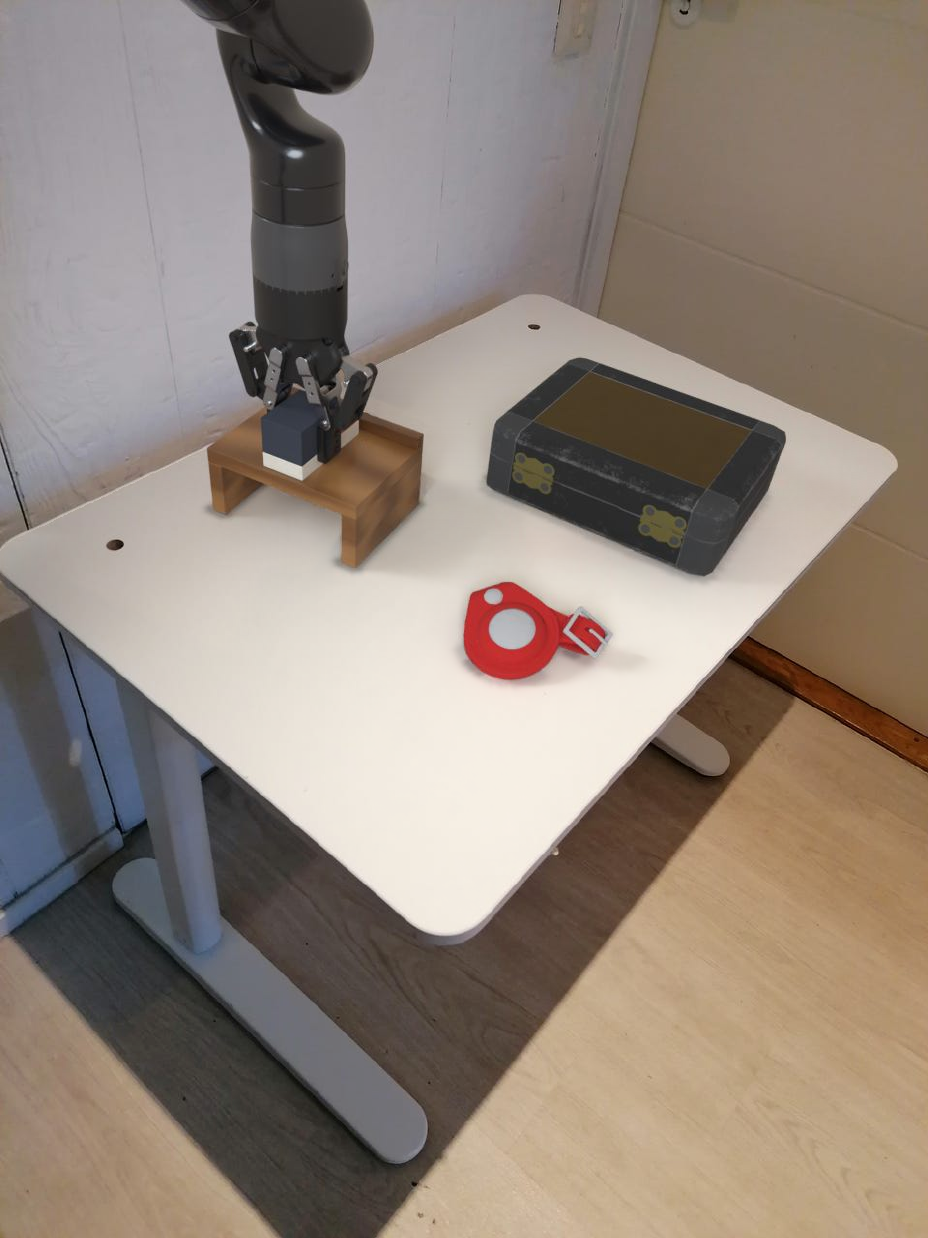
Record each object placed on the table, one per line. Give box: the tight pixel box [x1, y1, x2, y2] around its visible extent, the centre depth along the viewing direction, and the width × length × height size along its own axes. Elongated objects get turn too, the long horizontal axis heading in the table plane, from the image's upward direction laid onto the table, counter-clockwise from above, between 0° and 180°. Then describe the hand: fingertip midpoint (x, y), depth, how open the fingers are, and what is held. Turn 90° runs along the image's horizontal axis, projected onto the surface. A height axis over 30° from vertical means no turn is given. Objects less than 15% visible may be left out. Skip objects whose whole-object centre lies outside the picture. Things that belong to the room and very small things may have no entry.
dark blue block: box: [261, 389, 359, 481], centre depth 88 cm, size 10×4×5 cm, turn 153°
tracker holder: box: [462, 581, 614, 681], centre depth 83 cm, size 12×4×10 cm
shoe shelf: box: [206, 386, 425, 569], centre depth 92 cm, size 12×16×8 cm
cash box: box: [485, 356, 787, 577], centre depth 100 cm, size 25×20×8 cm
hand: (304, 449), depth 88 cm, fingers closed on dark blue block, 4 cm apart
